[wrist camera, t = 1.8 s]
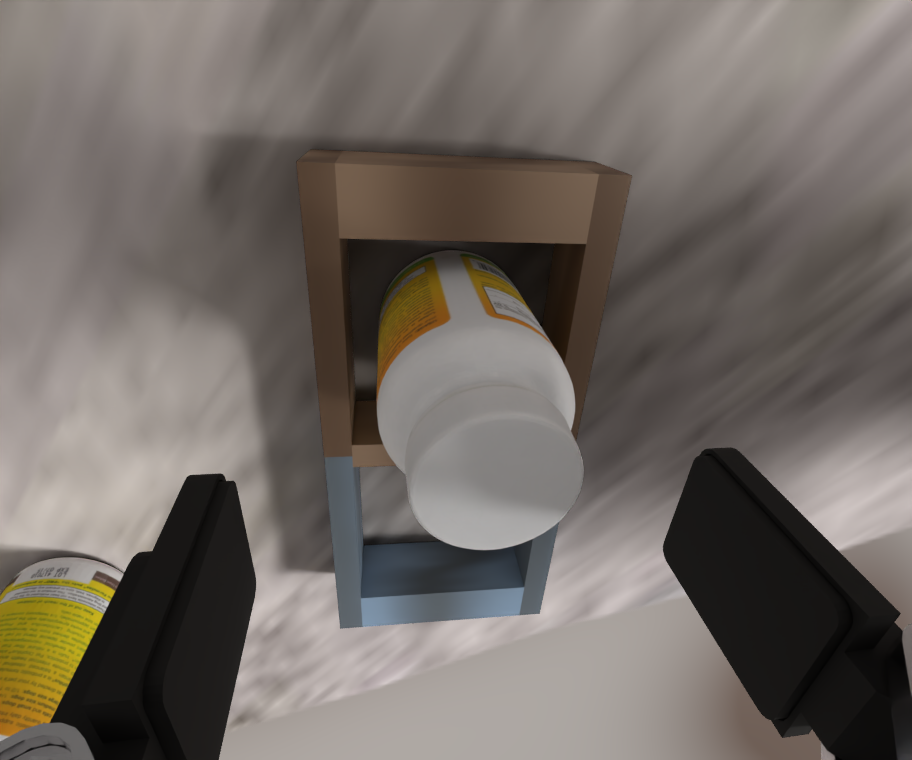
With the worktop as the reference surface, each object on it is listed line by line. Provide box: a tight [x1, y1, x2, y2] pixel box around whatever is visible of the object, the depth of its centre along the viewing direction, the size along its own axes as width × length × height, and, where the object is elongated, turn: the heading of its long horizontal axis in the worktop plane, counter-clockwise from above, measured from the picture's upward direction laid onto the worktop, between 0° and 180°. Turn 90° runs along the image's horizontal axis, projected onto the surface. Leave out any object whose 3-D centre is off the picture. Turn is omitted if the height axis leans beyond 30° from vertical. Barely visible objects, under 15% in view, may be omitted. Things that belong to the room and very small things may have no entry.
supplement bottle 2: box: [377, 250, 584, 550], centre depth 15 cm, size 5×5×10 cm
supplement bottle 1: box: [0, 557, 124, 741], centre depth 20 cm, size 6×6×10 cm
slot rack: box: [296, 149, 632, 628], centre depth 20 cm, size 9×20×3 cm, turn 177°
